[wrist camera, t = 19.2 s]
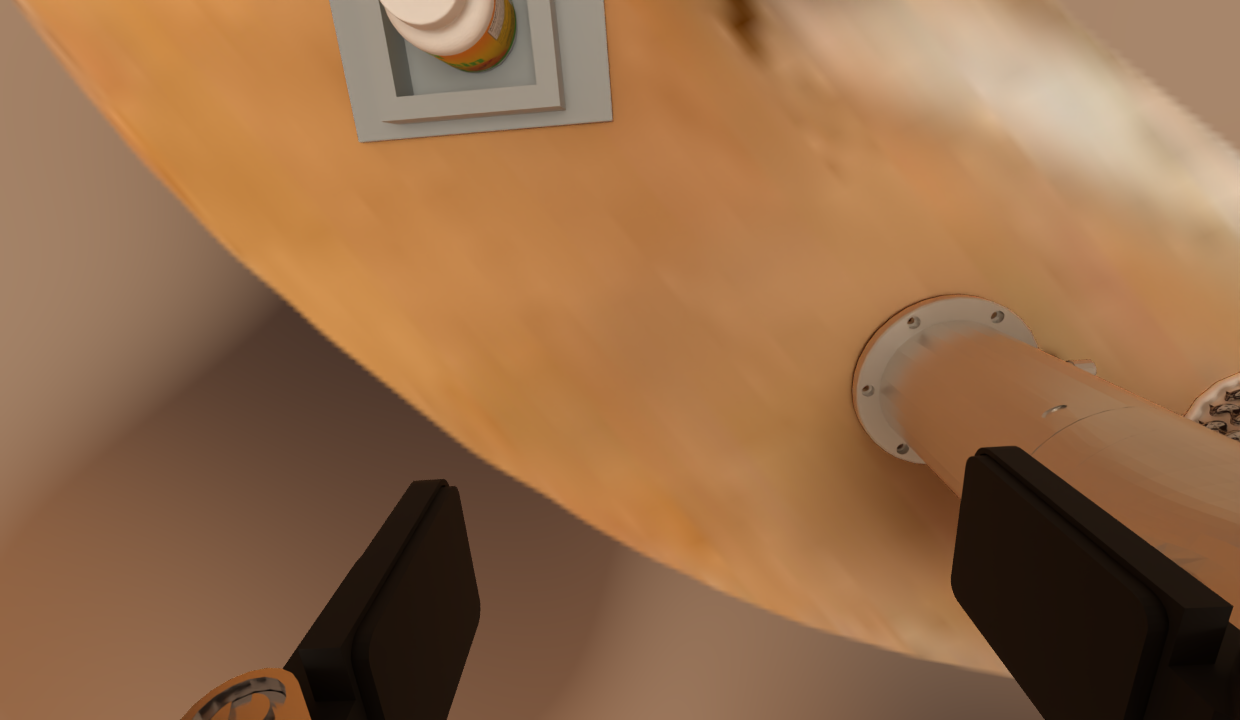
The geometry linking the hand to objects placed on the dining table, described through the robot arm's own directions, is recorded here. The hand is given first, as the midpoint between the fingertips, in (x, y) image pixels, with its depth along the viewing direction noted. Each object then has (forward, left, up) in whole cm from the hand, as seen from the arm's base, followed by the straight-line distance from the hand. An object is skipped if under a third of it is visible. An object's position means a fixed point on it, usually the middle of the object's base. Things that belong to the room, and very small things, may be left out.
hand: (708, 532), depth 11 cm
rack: (+10, -15, -30) cm, 35 cm away
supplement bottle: (+10, -15, -30) cm, 35 cm away
